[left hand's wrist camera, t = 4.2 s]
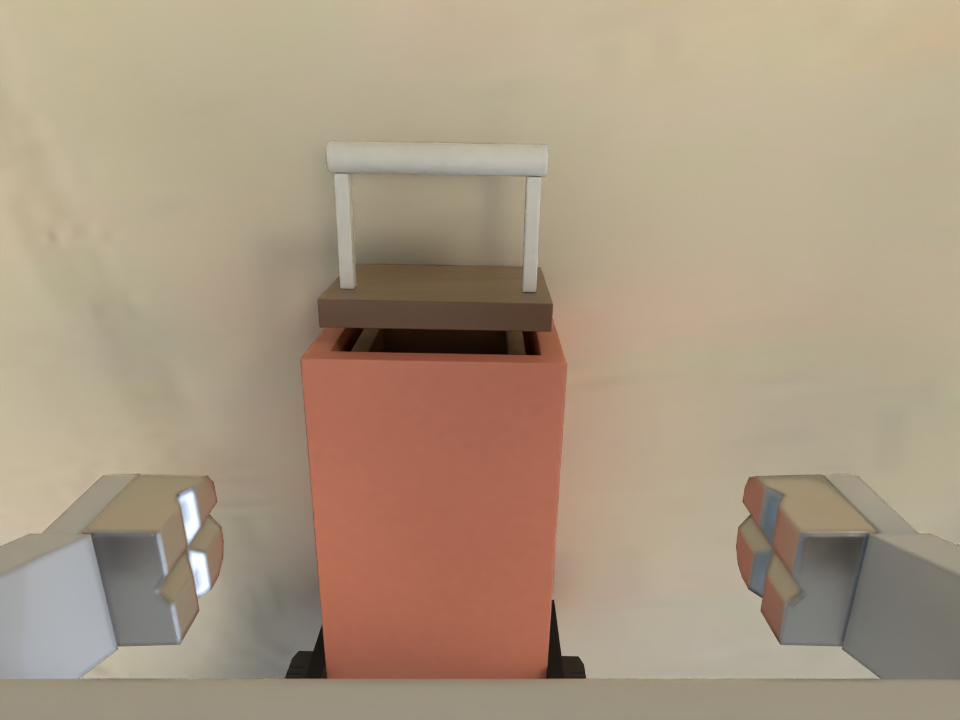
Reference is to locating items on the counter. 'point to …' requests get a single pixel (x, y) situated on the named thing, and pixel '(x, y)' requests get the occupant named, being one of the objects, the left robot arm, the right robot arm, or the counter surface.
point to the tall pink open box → (434, 506)
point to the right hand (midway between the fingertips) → (442, 617)
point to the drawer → (437, 288)
